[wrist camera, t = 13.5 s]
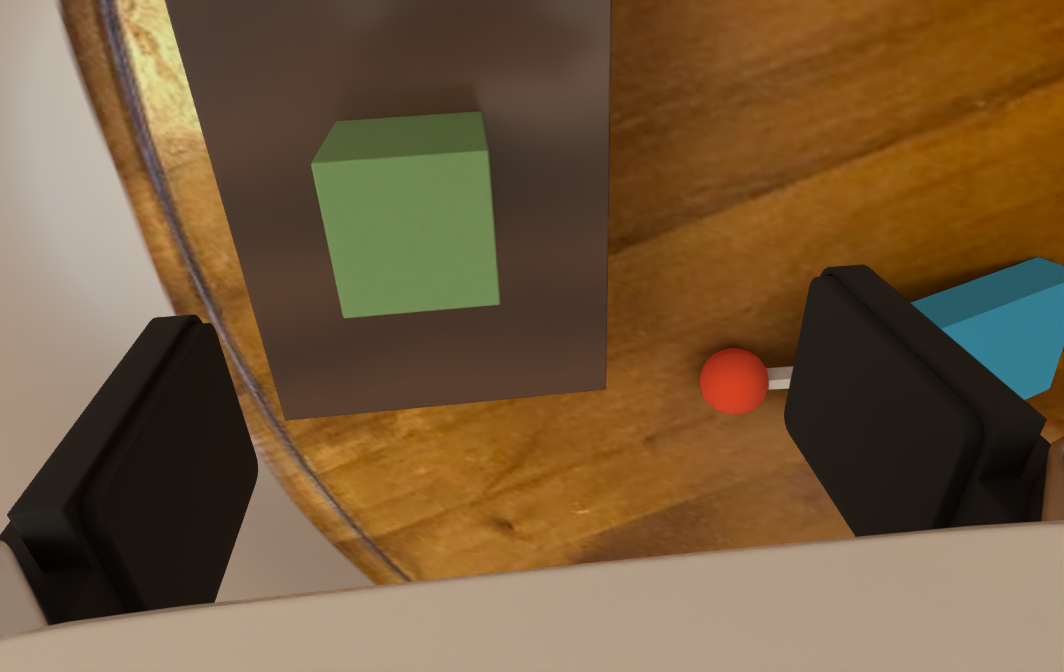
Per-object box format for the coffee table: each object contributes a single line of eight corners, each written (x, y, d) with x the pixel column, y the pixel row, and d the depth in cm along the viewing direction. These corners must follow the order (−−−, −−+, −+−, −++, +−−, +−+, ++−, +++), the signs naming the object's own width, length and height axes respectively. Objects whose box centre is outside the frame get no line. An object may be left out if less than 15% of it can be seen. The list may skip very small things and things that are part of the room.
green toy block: (335, 120, 23) (310, 163, 19) (481, 110, 24) (489, 150, 20) (360, 255, 26) (343, 319, 22) (492, 244, 26) (500, 305, 22)
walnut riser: (181, -132, 24) (122, -146, 19) (585, -150, 24) (614, -167, 20) (305, 358, 34) (284, 421, 30) (586, 333, 35) (606, 389, 30)
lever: (960, 228, 39) (686, 318, 34) (1087, 273, 33) (779, 389, 29) (937, 331, 43) (687, 426, 38) (1049, 388, 37) (770, 508, 32)
